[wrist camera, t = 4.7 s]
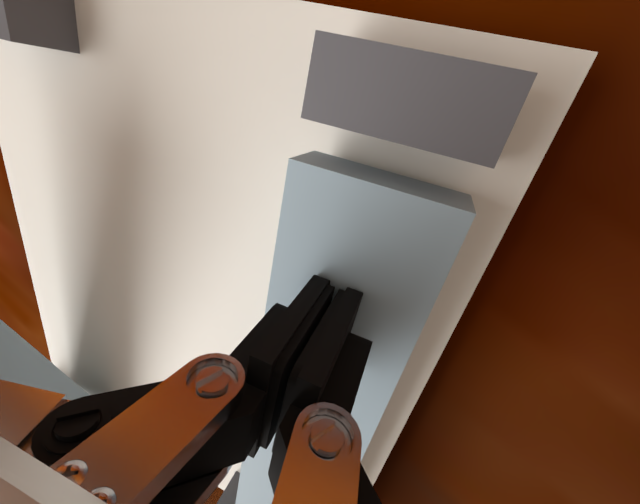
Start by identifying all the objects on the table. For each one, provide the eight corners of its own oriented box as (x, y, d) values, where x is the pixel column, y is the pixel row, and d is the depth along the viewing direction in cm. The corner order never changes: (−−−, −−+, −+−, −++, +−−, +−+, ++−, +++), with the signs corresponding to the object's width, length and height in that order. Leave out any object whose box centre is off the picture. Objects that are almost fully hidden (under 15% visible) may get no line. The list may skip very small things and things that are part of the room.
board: (348, 505, 23) (321, 619, 18) (94, 369, 28) (15, 426, 23) (559, 68, 10) (675, 18, 5) (33, -31, 16) (-171, -105, 10)
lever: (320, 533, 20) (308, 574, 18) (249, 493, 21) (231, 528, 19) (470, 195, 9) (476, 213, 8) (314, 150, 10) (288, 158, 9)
